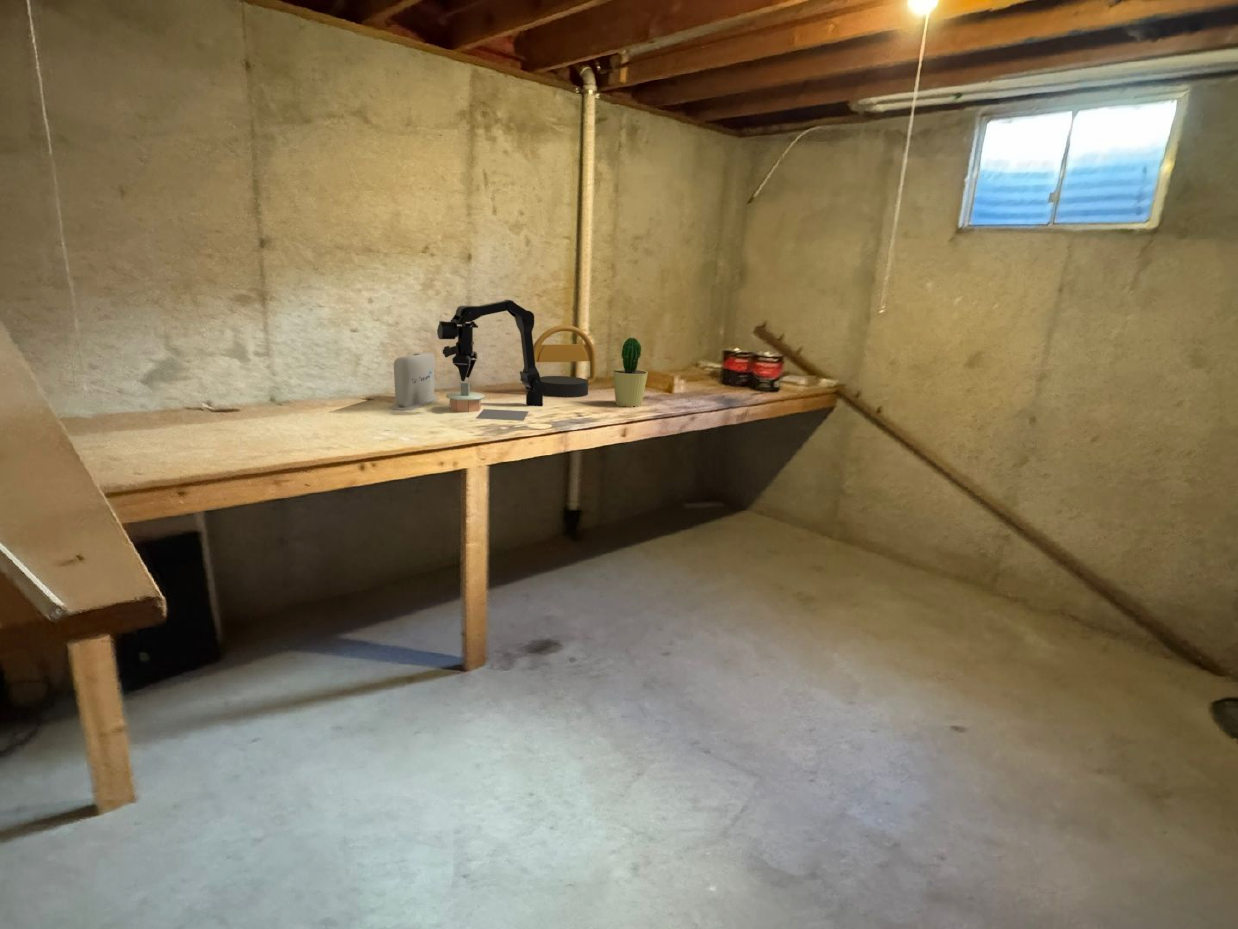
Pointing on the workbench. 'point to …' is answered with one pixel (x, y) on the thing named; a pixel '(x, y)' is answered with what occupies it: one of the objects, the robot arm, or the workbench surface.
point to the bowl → (465, 405)
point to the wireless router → (414, 381)
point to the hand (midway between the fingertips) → (465, 379)
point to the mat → (502, 414)
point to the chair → (565, 353)
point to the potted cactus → (630, 376)
